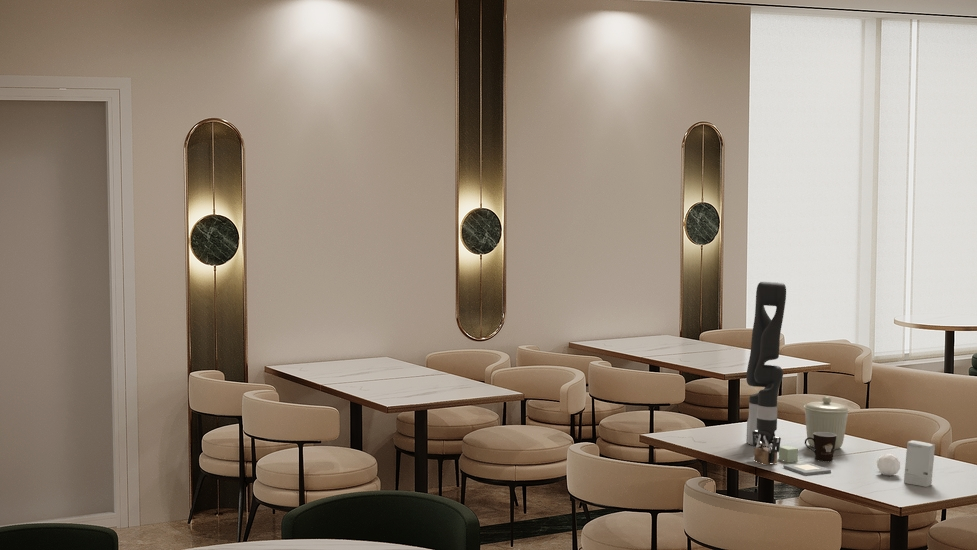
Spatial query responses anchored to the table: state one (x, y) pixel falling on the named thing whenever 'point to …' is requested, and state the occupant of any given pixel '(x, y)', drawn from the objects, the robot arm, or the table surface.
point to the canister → (826, 419)
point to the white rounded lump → (888, 464)
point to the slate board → (807, 468)
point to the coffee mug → (823, 445)
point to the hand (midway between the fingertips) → (765, 460)
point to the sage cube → (788, 453)
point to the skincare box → (919, 463)
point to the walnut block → (763, 455)
